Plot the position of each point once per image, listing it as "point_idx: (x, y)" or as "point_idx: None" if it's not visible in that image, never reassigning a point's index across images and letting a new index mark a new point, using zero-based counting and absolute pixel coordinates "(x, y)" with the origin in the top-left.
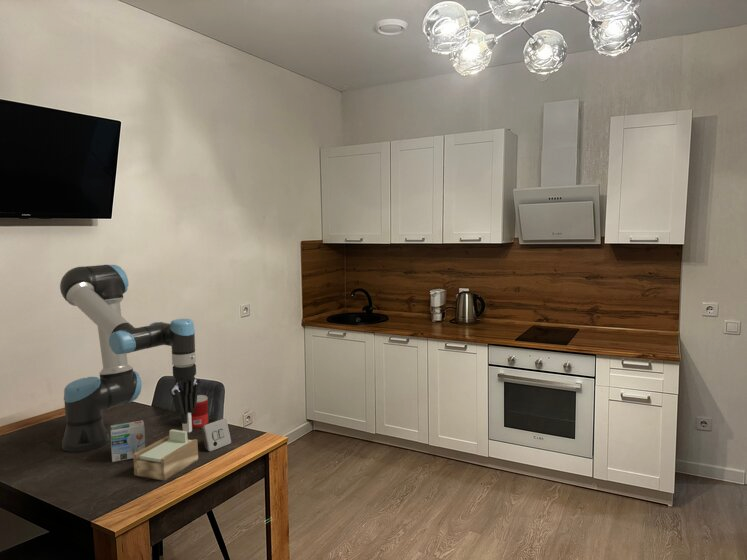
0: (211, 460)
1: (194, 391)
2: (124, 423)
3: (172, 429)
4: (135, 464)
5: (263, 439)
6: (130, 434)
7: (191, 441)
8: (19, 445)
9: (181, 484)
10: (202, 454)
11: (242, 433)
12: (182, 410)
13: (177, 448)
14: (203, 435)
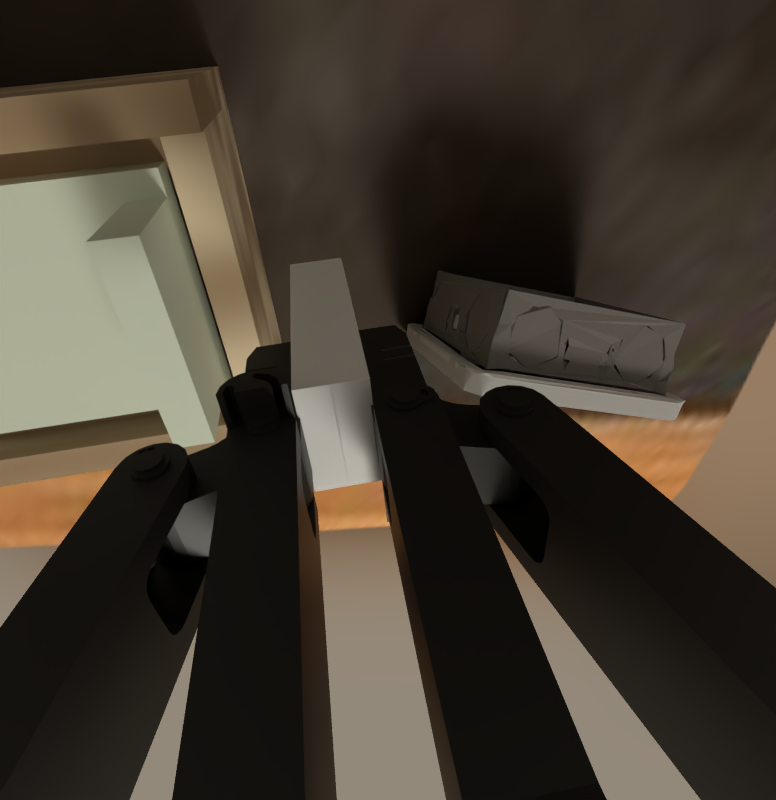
0: None
1: (727, 797)
2: None
3: (141, 252)
4: None
5: (642, 457)
6: None
7: (224, 434)
8: None
9: (12, 495)
10: (356, 318)
11: (725, 308)
12: (168, 604)
13: (70, 418)
14: (471, 295)
